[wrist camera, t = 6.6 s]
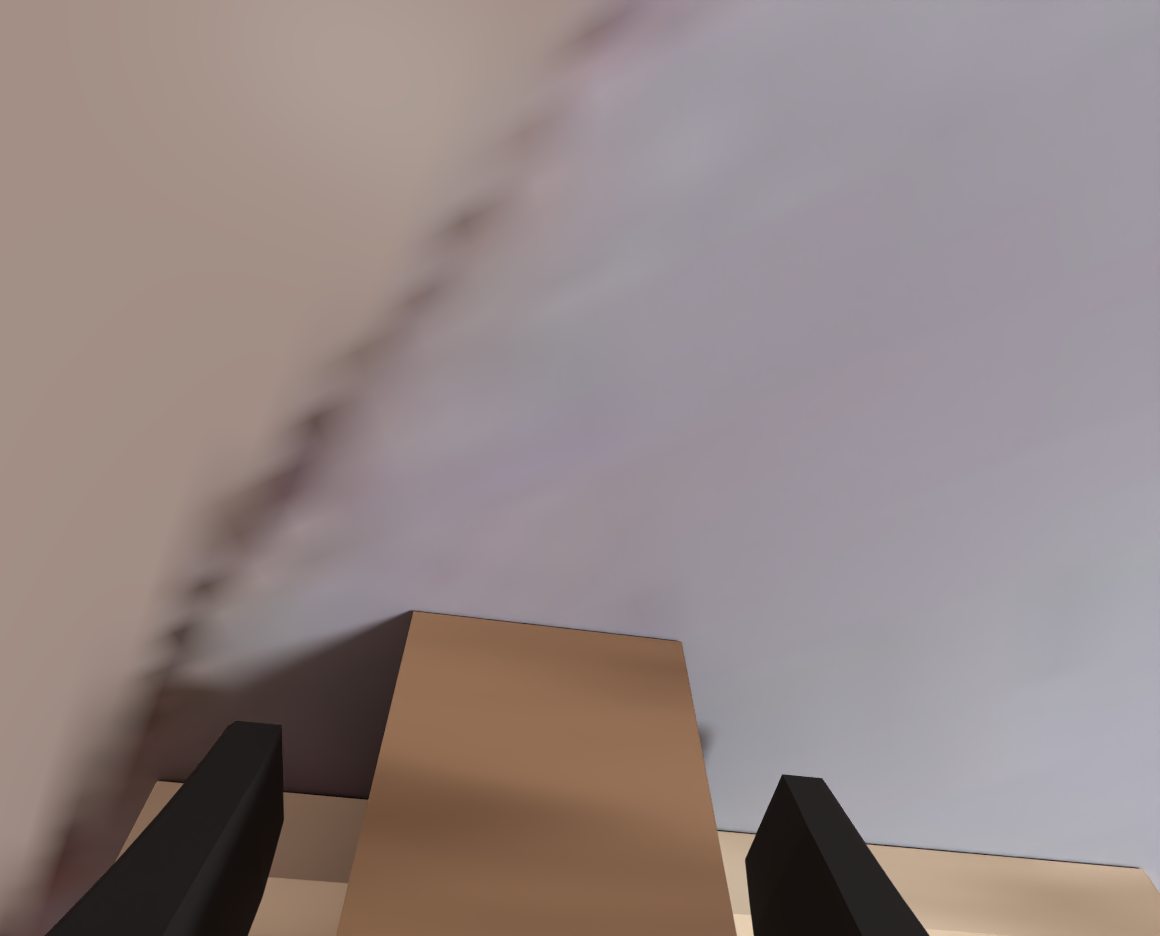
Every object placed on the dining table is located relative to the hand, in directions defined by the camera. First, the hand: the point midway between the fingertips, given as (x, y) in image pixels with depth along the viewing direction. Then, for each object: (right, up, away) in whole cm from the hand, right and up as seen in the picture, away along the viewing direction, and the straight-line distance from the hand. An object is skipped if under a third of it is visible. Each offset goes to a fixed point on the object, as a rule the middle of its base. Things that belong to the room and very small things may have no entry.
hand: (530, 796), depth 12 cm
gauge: (-1, -2, +3) cm, 4 cm away
